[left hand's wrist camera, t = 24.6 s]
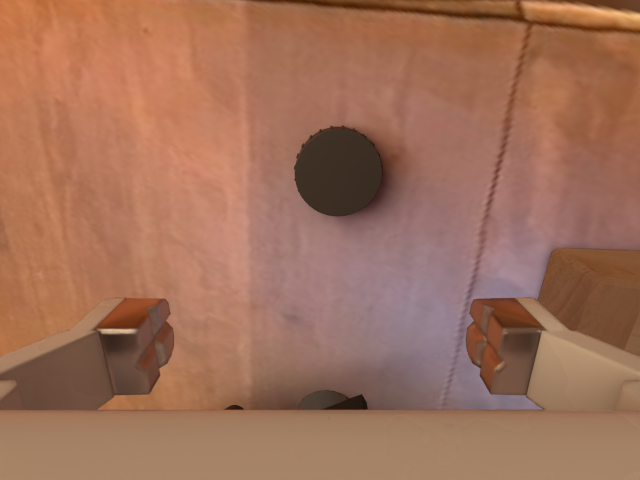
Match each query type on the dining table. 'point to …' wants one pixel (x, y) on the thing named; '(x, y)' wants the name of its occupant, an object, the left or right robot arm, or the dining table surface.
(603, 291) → the decorative block
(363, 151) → the lid
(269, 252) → the dining table surface
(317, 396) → the grey bottle
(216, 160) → the dining table surface
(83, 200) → the dining table surface
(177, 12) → the dining table surface
